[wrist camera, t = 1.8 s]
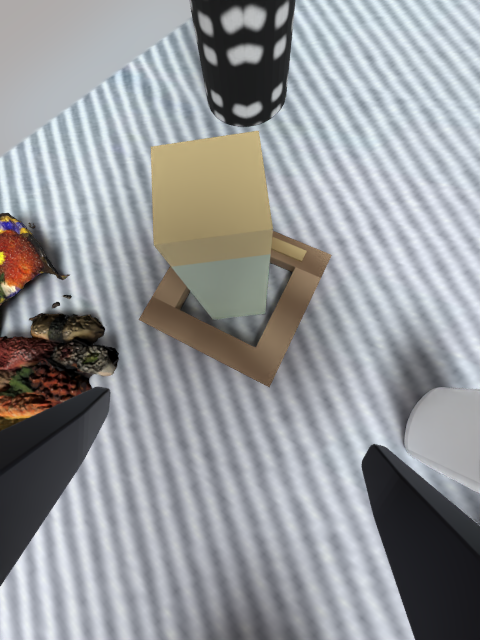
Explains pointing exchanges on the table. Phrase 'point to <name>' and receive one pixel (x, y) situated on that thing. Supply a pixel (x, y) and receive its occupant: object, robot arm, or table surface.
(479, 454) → the eye dropper bottle
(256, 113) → the white-spotted black cylinder
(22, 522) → the robot arm
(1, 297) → the food
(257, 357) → the slot plate
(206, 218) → the green yellow rectangular block
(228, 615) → the table surface
